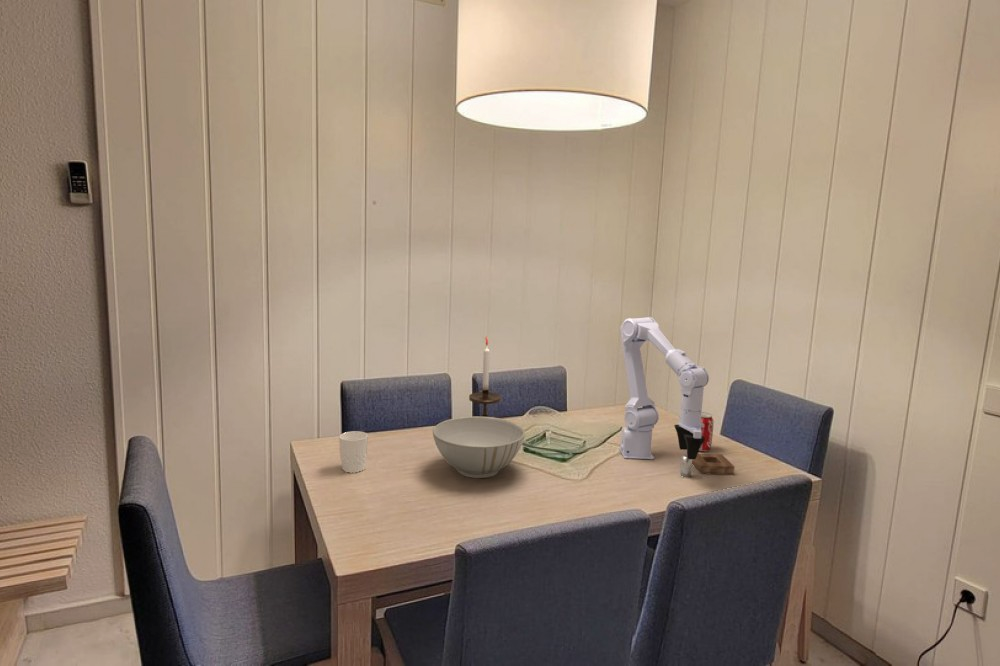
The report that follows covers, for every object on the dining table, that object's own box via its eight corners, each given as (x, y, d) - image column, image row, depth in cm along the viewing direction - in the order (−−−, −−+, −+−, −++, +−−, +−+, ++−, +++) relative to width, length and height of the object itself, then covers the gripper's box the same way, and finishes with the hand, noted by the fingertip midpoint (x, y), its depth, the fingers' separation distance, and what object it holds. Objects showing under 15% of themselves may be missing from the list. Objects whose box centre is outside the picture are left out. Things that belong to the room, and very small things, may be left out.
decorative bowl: (514, 494, 156) (516, 451, 154) (419, 482, 162) (419, 441, 160) (530, 457, 182) (531, 420, 180) (447, 449, 188) (447, 412, 186)
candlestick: (464, 433, 203) (467, 333, 197) (494, 431, 206) (497, 333, 201) (472, 444, 193) (475, 339, 187) (504, 441, 196) (507, 338, 190)
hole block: (700, 473, 174) (700, 465, 174) (689, 460, 184) (690, 453, 184) (733, 474, 174) (734, 466, 174) (721, 461, 184) (721, 454, 184)
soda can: (708, 445, 198) (711, 411, 196) (713, 453, 191) (716, 418, 189) (686, 444, 199) (689, 410, 197) (691, 452, 192) (694, 416, 190)
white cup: (333, 470, 168) (333, 437, 167) (352, 461, 175) (352, 429, 173) (355, 476, 165) (354, 442, 163) (373, 467, 172) (373, 434, 170)
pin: (681, 477, 171) (683, 458, 170) (678, 473, 174) (680, 454, 173) (692, 478, 171) (693, 458, 170) (688, 474, 174) (690, 454, 173)
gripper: (714, 417, 162) (709, 463, 164) (696, 402, 176) (693, 445, 178) (688, 416, 162) (684, 463, 164) (673, 401, 176) (669, 444, 178)
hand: (687, 453), depth 171 cm, fingers open, 7 cm apart
